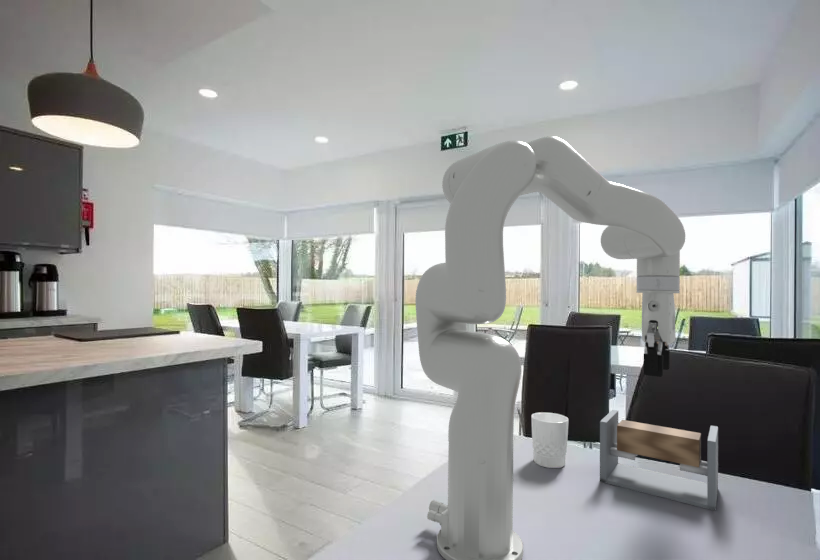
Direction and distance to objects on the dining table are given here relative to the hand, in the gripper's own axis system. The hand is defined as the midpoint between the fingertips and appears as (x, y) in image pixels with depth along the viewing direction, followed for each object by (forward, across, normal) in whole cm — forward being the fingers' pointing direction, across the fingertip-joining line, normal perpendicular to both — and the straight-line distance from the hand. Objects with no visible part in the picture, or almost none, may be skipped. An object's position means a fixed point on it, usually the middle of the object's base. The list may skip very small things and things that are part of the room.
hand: (657, 372), depth 89 cm
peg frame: (+22, 0, 0) cm, 22 cm away
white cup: (+23, -2, +21) cm, 31 cm away
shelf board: (+16, 0, 0) cm, 16 cm away
